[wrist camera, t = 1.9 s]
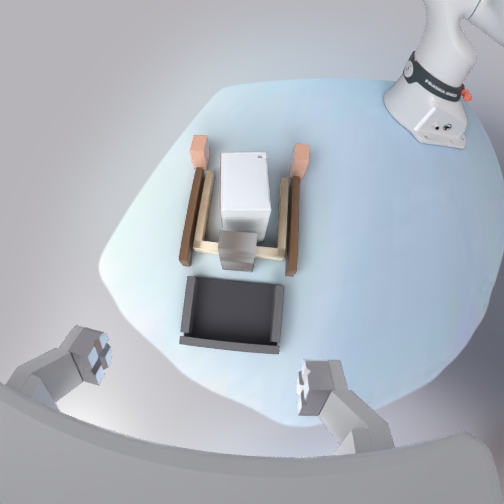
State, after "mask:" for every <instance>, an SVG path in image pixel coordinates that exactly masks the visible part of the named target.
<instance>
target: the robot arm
mask: <svg viewBox="0 0 504 504" xmlns="http://www.w3.org/2000/svg"><path fill="white" fill-rule="evenodd" d="M423 2H424V5H425V9H426V16H427V17H426V26H425V30H424V33H423V36H422V38H421V41H420V43H419V45H418V47H417V49H416V51H414V52H413V53H412V55H411V56H410V58H409V60H408V62H407V64H406V66H405V68H404V71H403V74H402V75H401V77H400V78H399V79H398V81H397V82H396V83H395V84H394V85H393V86H392V87H391V88H390V89H389V90H388V91H387V92H386V93H385V94H384V103H385V105H386V107H387V109H388V111H389V112H390V114H391V115H392V116H393V117H394V118H395V119H396V120H397V121H398V122H399V123H400V124H402V125H403V126H404V127H405V128H407V129H408V130H409V131H410V132H411V133H412V134H413V135H414V137H415V138H416V139H417V140H418V141H419V142H421V143H426V144H434V145H441V146H447V147H453V148H459V149H464V148H465V146H466V137H465V133H464V132H465V130H466V128H467V125H468V119H467V115H466V112H465V110H464V107H463V104H462V102H461V100H460V97H461V94H462V96H463V98H464V100H465V101H467V102H468V101H470V100H471V99H472V96H471V95H470V93H469V91H468V90H466V89H465V88H464V85H463V81H464V80H465V79H466V77H467V76H468V75H469V73H470V72H471V70H472V69H473V67H474V66H475V64H476V60H477V56H476V52H475V49H474V47H473V45H472V43H471V42H470V40H469V39H468V37H467V36H466V35H465V33H464V32H463V30H462V29H461V26H460V20H461V19H465V20H468V21H469V22H470V23H472V24H473V25H475V26H476V27H477V28H479V29H480V30H481V31H483V32H484V33H485V34H487V35H488V36H489V37H491V38H492V39H493V40H494V41H495V42H497V43H498V44H500V45H501V46H503V47H504V0H423ZM461 91H462V92H461ZM107 341H108V336H107V334H106V333H104V332H101V331H97V330H93V329H90V328H85V327H81V326H78V325H76V326H74V327H73V328H72V330H71V331H70V333H69V334H68V335H67V337H66V338H65V340H64V341H63V343H62V344H61V345H60V347H59V348H54V349H52V350H50V351H48V352H46V353H44V354H42V355H40V356H38V357H36V358H34V359H32V360H30V361H28V362H26V363H24V364H22V365H20V366H18V367H17V368H16V370H15V371H14V373H13V374H12V376H11V377H10V379H9V380H8V382H7V383H6V385H4V384H3V383H1V382H0V504H504V499H503V494H502V489H501V484H500V480H499V476H498V473H497V469H496V466H495V463H494V460H493V457H492V454H491V452H490V450H489V448H488V447H487V446H486V445H485V444H484V443H482V442H481V441H480V440H479V439H477V438H476V437H475V436H473V435H472V434H470V433H468V432H466V431H461V432H456V433H453V434H450V435H447V436H443V437H439V438H436V439H432V440H428V441H424V442H419V443H415V444H410V445H406V446H401V447H396V448H395V447H394V443H393V439H392V436H391V432H390V429H389V425H388V423H387V422H386V421H385V420H384V419H383V418H381V417H380V416H379V415H378V414H377V413H376V412H375V411H374V410H373V409H371V408H370V407H369V406H368V405H367V404H366V403H365V402H364V401H363V400H362V399H361V398H359V397H358V396H357V395H356V394H355V393H354V392H353V391H352V390H348V388H347V384H346V380H345V376H344V372H343V368H342V365H341V362H340V360H311V359H303V361H302V363H301V371H300V372H299V373H298V376H297V380H296V394H297V395H298V396H299V399H298V401H297V407H298V415H301V416H318V417H319V418H320V420H321V421H322V422H323V424H324V425H325V426H326V427H327V429H328V430H329V431H330V433H331V434H332V435H333V436H334V438H335V439H336V440H337V441H338V443H339V444H340V446H339V447H338V448H337V450H336V451H335V452H334V453H333V455H332V456H317V457H262V456H246V455H233V454H223V453H214V452H207V451H201V450H193V449H188V448H182V447H176V446H171V445H166V444H162V443H157V442H153V441H148V440H144V439H140V438H136V437H133V436H129V435H125V434H122V433H118V432H115V431H112V430H109V429H105V428H102V427H99V426H96V425H93V424H90V423H87V422H85V421H82V420H79V419H77V418H74V417H72V416H69V415H67V414H64V413H62V412H61V411H60V409H59V408H58V406H57V405H56V403H55V402H57V401H58V400H59V399H60V398H62V397H63V396H65V395H66V394H67V393H69V392H70V391H71V390H73V389H74V388H75V387H77V386H78V385H79V384H81V383H82V382H83V381H85V382H89V383H92V384H96V385H100V383H101V381H102V379H103V377H104V375H105V373H104V369H106V368H108V367H109V365H110V363H111V359H112V350H111V347H110V346H109V344H108V343H107Z"/></svg>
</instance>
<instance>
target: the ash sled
mask: <svg viewBox="0 0 504 504" xmlns="http://www.w3.org/2000/svg"><path fill="white" fill-rule="evenodd" d="M214 179H215V177H214V171H212V170H207V172H206V178H205V183H204V188H203V193H202V199H201V204H200V210H199V215H198V221H197V227H196V233H195V239H194V245H193V248H194V250H195V252H200V253H210V254H219V256H220V261H221V265H222V269H226V270H236V271H246V272H252V271H253V265H254V259H255V258H261V259H271V260H282V261H283V260H284V258H285V250H286V231H287V210H288V186H289V178H287V177H282V179H281V183H280V199H279V216H278V232H277V248H270V247H260V246H256V244H257V234H256V233H246V232H236V231H225V230H220V233H219V241H218V242H208V241H204V239H205V233H206V226H207V220H208V214H209V208H210V202H211V196H212V190H213V184H214Z"/></svg>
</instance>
